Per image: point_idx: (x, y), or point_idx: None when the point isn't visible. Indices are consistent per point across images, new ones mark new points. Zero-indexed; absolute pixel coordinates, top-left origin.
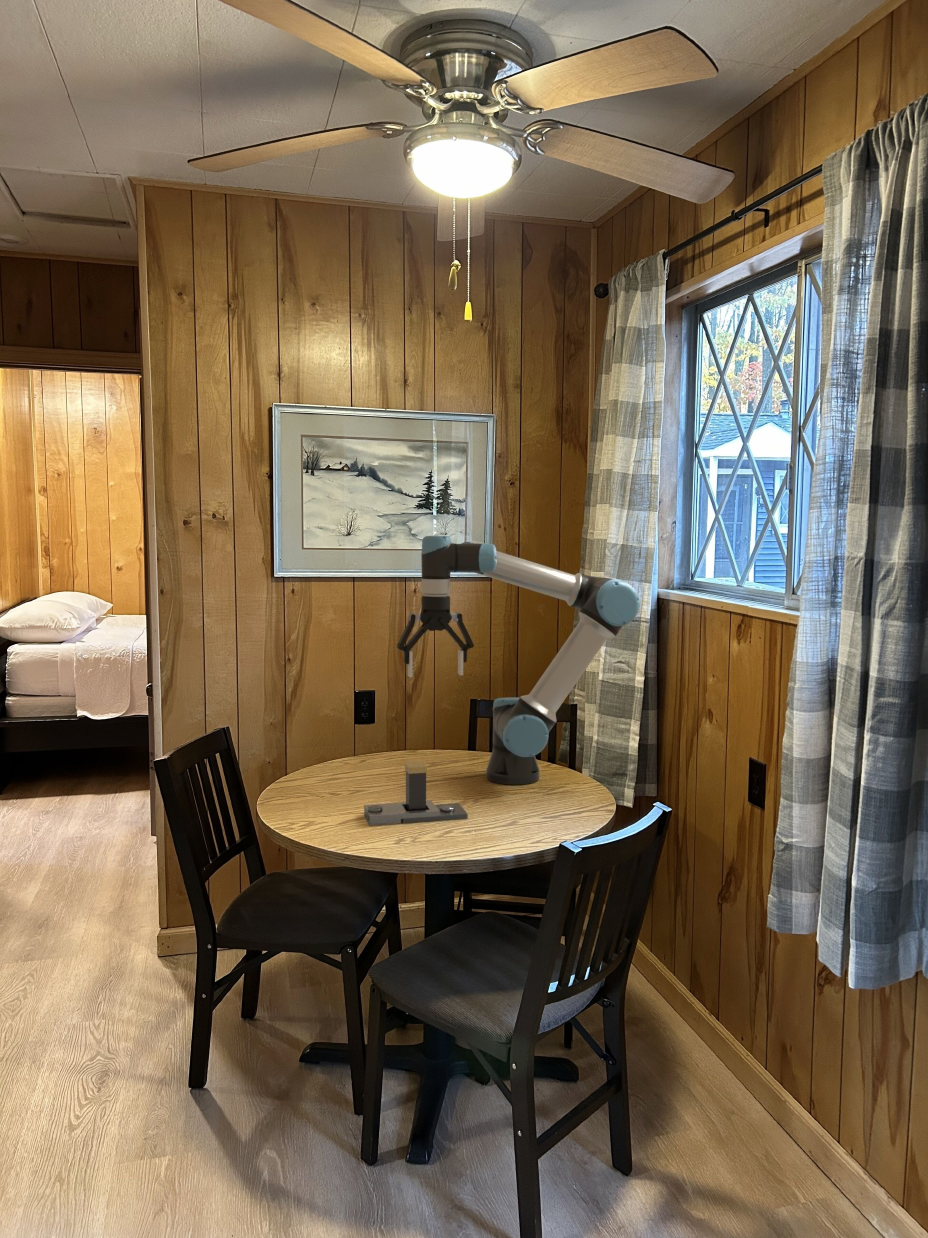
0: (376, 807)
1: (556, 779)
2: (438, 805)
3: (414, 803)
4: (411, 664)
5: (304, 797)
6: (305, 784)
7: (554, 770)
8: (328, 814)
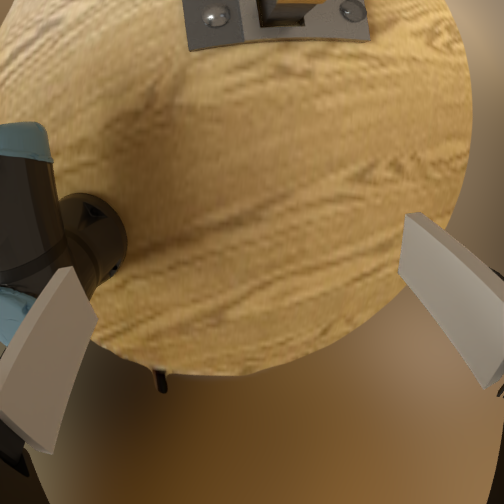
0: (352, 9)
1: None
2: (230, 37)
3: None
4: (463, 257)
5: (434, 158)
6: None
7: None
8: (411, 65)
